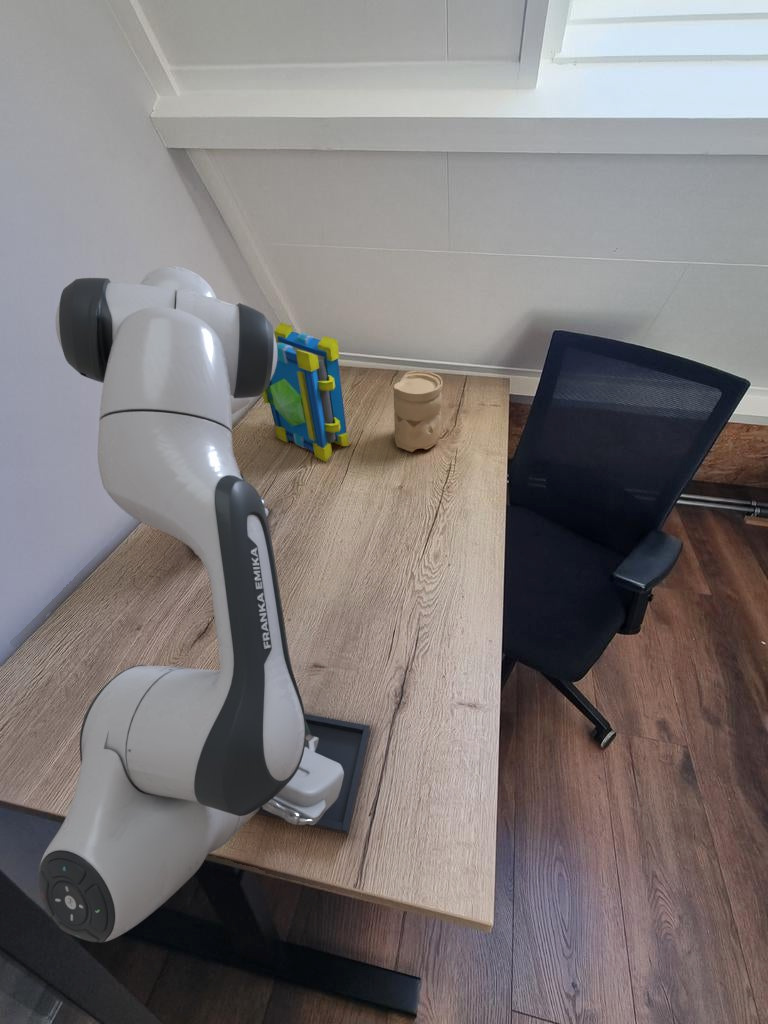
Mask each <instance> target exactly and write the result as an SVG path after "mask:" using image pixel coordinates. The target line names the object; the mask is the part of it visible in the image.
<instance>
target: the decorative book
mask: <svg viewBox="0 0 768 1024" xmlns="http://www.w3.org/2000/svg"><path fill="white" fill-rule="evenodd" d="M273 333H274V336H275V339H276V344H277V365H276V369H275V372H274V375H273V377H272V379H271V380H270V383H269V386H268V388H267V389H266V390H265V391H264V392H263V393H262V394H261V395H262V398H263V402H264V404H269V408H270V411H271V415H272V419H273V423H274V429H275V433H276V437H277V439H279V440H281V441H283V442H285V443H289V442H290V441H291V442H293V443H294V444H295V445H296V446H299V447H301V448H303V449H306V450H309V451H311V452H312V453H314V457H315V458H318V459H319V460H321V461H323V462H325V463H327V462H328V461H329V459H330V458H331V456H332V455H333V450H332V449H333V448H332V444H331V443H335V444H337V445H339V446H341V447H348V446H350V442H349V433H348V432H347V423H346V416H345V407H344V399H343V391H342V383H341V374H340V366H339V365H340V364H339V359H340V352H339V351H340V349H339V343H338V339H335V338H332V337H329V336H327V335H324V336H323V337H322V338H321V339H318V338H315V337H314V336H312V335H309V334H307V333H302V332H301V333H299V332H295V331H294V330H293V325H290V324H287V323H283V322H280V323H279V324H278V325H277V327H276V328H275V329H274V330H273Z"/></svg>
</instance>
